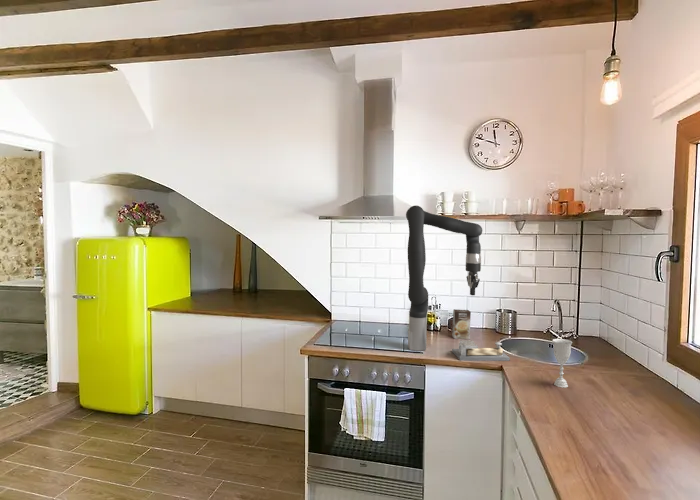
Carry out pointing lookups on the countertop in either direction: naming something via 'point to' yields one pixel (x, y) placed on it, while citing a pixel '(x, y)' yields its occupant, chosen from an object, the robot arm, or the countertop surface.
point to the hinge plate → (482, 356)
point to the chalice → (561, 358)
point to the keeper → (466, 346)
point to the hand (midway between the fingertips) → (472, 295)
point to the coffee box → (461, 324)
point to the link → (484, 351)
